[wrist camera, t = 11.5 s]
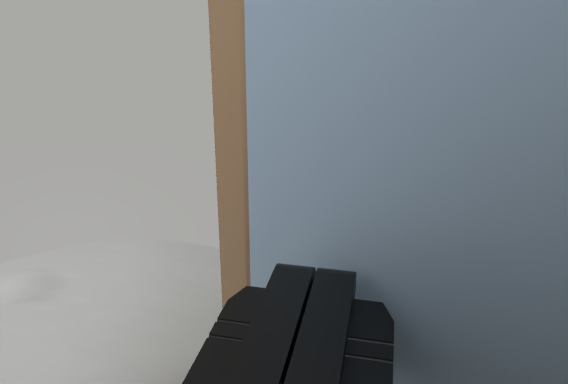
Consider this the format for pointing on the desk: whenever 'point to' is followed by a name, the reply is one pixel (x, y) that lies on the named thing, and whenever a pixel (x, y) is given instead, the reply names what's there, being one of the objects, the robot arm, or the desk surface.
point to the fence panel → (405, 169)
